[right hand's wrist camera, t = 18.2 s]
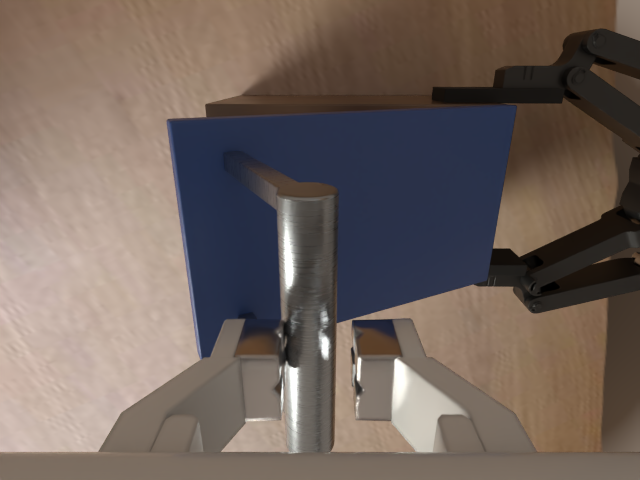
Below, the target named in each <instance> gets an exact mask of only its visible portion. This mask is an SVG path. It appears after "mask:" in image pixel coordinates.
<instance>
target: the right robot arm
mask: <svg viewBox="0 0 640 480" xmlns="http://www.w3.org/2000/svg"><path fill="white" fill-rule="evenodd" d="M351 335H352V344H353V347H352V348H351V380H352V386H353V387H354V396H353V400H354V409H355V417H356V420H371V421H391V423H392V424H393V425H394V426H395V428H396V429H397V430H398V431H399V432H400V433H401V435H402V436H403V437H404V438H405V439H406V440H407V441H408V443H409V444H410V445H411V446H412V447H413V448H414V450H415V451H416V452H221V451H222V450H223V448H224V447H225V446H226V445H227V444H228V443H229V442H230V440H231V439H232V438H233V437H234V436H235V435H236V433H237V432H238V431H239V430H240V429H241V428H242V427H243V425H244V424H245V423H246V422H245V421H265V420H281V418H282V409H283V401H284V392H283V388H284V387H285V383H286V368H287V357H286V348H285V347H284V345H285V337H286V331H285V320H278V319H226V320H225V321H224V323H223V326H222V328H221V331H220V333H219V336H218V338H217V341H216V343H215V346H214V349H213V351H212V354H211V356H210V357H204V358H203V359H201V360H200V361H198V362H197V363H195V364H194V365H192V366H191V367H189V368H188V369H186V370H185V371H183V372H182V373H180V374H179V375H177V376H176V377H174V378H173V379H171V380H170V381H168V382H167V383H165V384H164V385H162V386H161V387H159V388H158V389H156V390H155V391H153V392H152V393H150V394H149V395H147V396H146V397H144V398H143V399H141V400H140V401H138V402H137V403H135V404H134V405H132V406H131V407H129V408H128V409H126V410H125V411H123V412H122V413H121V414H120V416H119V418H118V419H117V421H116V423H115V425H114V426H113V428H112V430H111V431H110V433H109V435H108V436H107V438H106V440H105V441H104V443H103V445H102V446H101V448H100V450H99V452H0V480H640V452H537V451H536V449H535V447H534V445H533V444H532V442H531V440H530V438H529V437H528V435H527V433H526V432H525V430H524V428H523V426H522V425H521V423H520V421H519V419H518V418H517V416H516V414H515V413H514V412H512V411H511V410H509V409H508V408H506V407H505V406H503V405H502V404H500V403H499V402H498V401H496V400H495V399H493V398H492V397H490V396H489V395H487V394H486V393H484V392H483V391H481V390H480V389H478V388H477V387H475V386H474V385H472V384H471V383H469V382H468V381H466V380H465V379H464V378H462V377H461V376H459V375H458V374H456V373H455V372H453V371H452V370H450V369H449V368H447V367H446V366H444V365H443V364H441V363H440V362H438V361H437V360H435V359H434V358H432V357H426V354H425V352H424V349H423V347H422V344H421V341H420V339H419V336H418V334H417V331H416V328H415V326H414V323H413V321H412V320H411V319H410V318H409V319H384V320H352V333H351Z"/></svg>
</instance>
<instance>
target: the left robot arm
mask: <svg viewBox="0 0 640 480" xmlns="http://www.w3.org/2000/svg"><path fill="white" fill-rule="evenodd" d="M592 64H596V65H598V66H601V67H604V68H607V69H610V70H613V71H616V72H619V73H622V74H625V75H628V76H631V77H634V78H637V79H640V41H638V40H635V39H632V38H629V37H627V36H624V35H621V34H618V33H615V32H612V31H609V30H607V29H595V30H589V31H583V32H577V33H572V34H570V35H569V36H567V37H566V39H565V40H564V43H563V52H562V54H561V56H560V57H559V59H558V60H557V61H556V62H555V63H554V64H552V65H550V66H504V67H502V68H499V69H497V70H496V71H495V78H494V84H493V87H433V92H432V100H435V101H439V102H443V103H562V100H563V98H565V99H566V100H568V101H569V102H571V103H572V104H573V105H575V106H576V107H578V108H579V109H581V110H582V111H584V112H585V113H586V114H588V115H589V116H591V117H592V118H594V119H595V120H597V121H598V122H599V123H601V124H602V125H604V126H605V127H607V128H608V129H610V130H611V131H612V132H614V133H615V134H617V135H618V136H620V137H621V138H622V139H623V140H622V141H623V142H625V143H626V144H628V145H629V146H630V147H632V148H633V149H635V150H636V151H638V152H639V153H640V106H639V105H637V104H636V103H634V102H633V101H632V100H630V99H629V98H628V97H626V96H625V95H623V94H622V93H621V92H619V91H618V90H616V89H615V88H614V87H612V86H611V85H609V84H608V83H607V82H605V81H604V80H603V79H601V78H600V77H598V76H597V75H596V74H594V73H593V72H591V71H590V68H591V66H592ZM620 205H621V206H618V207H616V208H614V209H612V210H610V211H608V212H606V213H604V214H602V216H601V219H600V220H598V221H596V222H594V223H592V224H590V225H587V226H585V227H583V228H581V229H579V230H577V231H575V232H572V233H570V234H568V235H566V236H564V237H562V238H560V239H557V240H555V241H553V242H551V243H549V244H547V245H545V246H542V247H540V248H538V249H536V250H534V251H532V252H530V253H527V254H525V255H523V256H521V257H518V256H517V255H516V254H515V253H514V252H513V251H512V250H511V249H492V255H491V260H490V266H489V272H488V278H487V280H486V281H483V282H480V283H476V284H474V285H476V286H510V287H513V292H514V294H515V295H516V296H517V297H518V298H519V299H520V300H521V302H522V303H523V304H524V305H525V306H526V307H527V309H528V310H529V311H530V312H531V313H541V312H546V311H550V310H554V309H559V308H563V307H568V306H572V305H576V304H581V303H585V302H589V301H594V300H598V299H603V298H607V297H611V296H616V295H620V294H625V293H629V292H633V291H638V290H640V252H635V253H634V254H633V255H632V258H619V259H614V260H609V261H605V262H601V263H596V262H598V261H600V260H603V259H605V258H607V257H609V256H611V255H614V254H616V253H618V252H620V251H623V250H625V249H627V248H630V247H635V248H639V247H640V154H639V155H638V157H633V158H632V162H631V165H630V169H629V183H628V184H627V186H626V188H625V190H624V191H623V193H622V197H621V200H620ZM594 263H596V264H594ZM591 264H592V265H591Z"/></svg>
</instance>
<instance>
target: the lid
mask: <svg viewBox="0 0 640 480" xmlns="http://www.w3.org/2000/svg"><path fill="white" fill-rule="evenodd" d="M516 109H517V106H516V105H483V106H460V107H437V108H413V109H390V110H366V111H343V112H319V113H296V114H273V115H249V116H226V117H202V118H179V119H168V120H167V128H168V136H169V143H170V151H171V158H172V165H173V173H174V180H175V188H176V195H177V202H178V210H179V217H180V225H181V232H182V239H183V247H184V254H185V262H186V269H187V276H188V284H189V291H190V298H191V306H192V313H193V321H194V328H195V335H196V343H197V350H198V354H199V357H200V360H201V359H203V358H204V357H210V356H211V354H212V351H213V349H214V346H215V343H216V341H217V338H218V336H219V333H220V331H221V328H222V326H223V323H224V321H225V320H226V319H278V320H285V331H286V337H285V345H284V347H285V348H286V357H287V368H286V383H285V387H284V388H283V392H284V401H283V411H284V413H285V424H286V444H287V447H288V449H289V451H290V452H330V451H331V450H332V448H333V446H334V438H335V382H336V327H337V323H339V322H343V321H346V320H350V319H353V318H357V317H360V316H364V315H367V314H371V313H374V312H378V311H381V310H385V309H388V308H392V307H395V306H399V305H402V304H406V303H409V302H413V301H416V300H420V299H423V298H427V297H430V296H434V295H437V294H441V293H445V292H448V291H452V290H455V289H459V288H462V287H466V286H469V285H473V284H476V283H480V282H483V281H486V280H487V278H488V272H489V266H490V260H491V255H492V249H493V243H494V237H495V231H496V225H497V220H498V214H499V208H500V202H501V196H502V191H503V185H504V179H505V173H506V167H507V161H508V156H509V150H510V144H511V138H512V132H513V127H514V121H515V115H516Z"/></svg>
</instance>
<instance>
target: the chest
mask: <svg viewBox="0 0 640 480" xmlns="http://www.w3.org/2000/svg"><path fill="white" fill-rule="evenodd" d="M483 105H506V104H501V103H443V102H439V101H435V100H432V96H405V95H240V96H236V97H232V98H228V99H224V100H220V101H216V102H212V103H208V104H206V105H205V107H206V117H226V116H249V115H273V114H296V113H319V112H343V111H366V110H390V109H413V108H437V107H460V106H483Z"/></svg>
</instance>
